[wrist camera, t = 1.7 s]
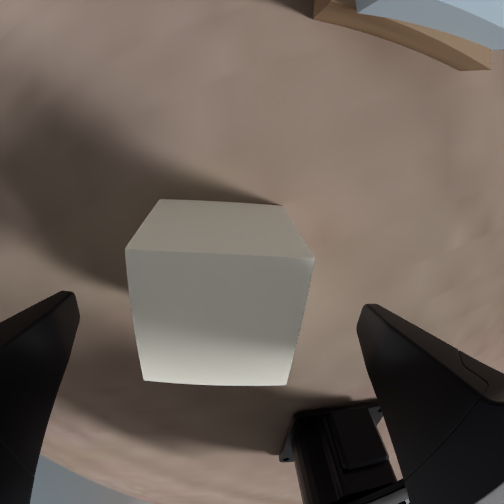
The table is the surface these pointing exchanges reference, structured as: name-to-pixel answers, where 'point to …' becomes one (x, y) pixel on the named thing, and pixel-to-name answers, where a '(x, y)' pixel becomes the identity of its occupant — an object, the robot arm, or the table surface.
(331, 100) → the table surface
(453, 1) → the tower mid
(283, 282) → the cube
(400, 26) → the tower base
